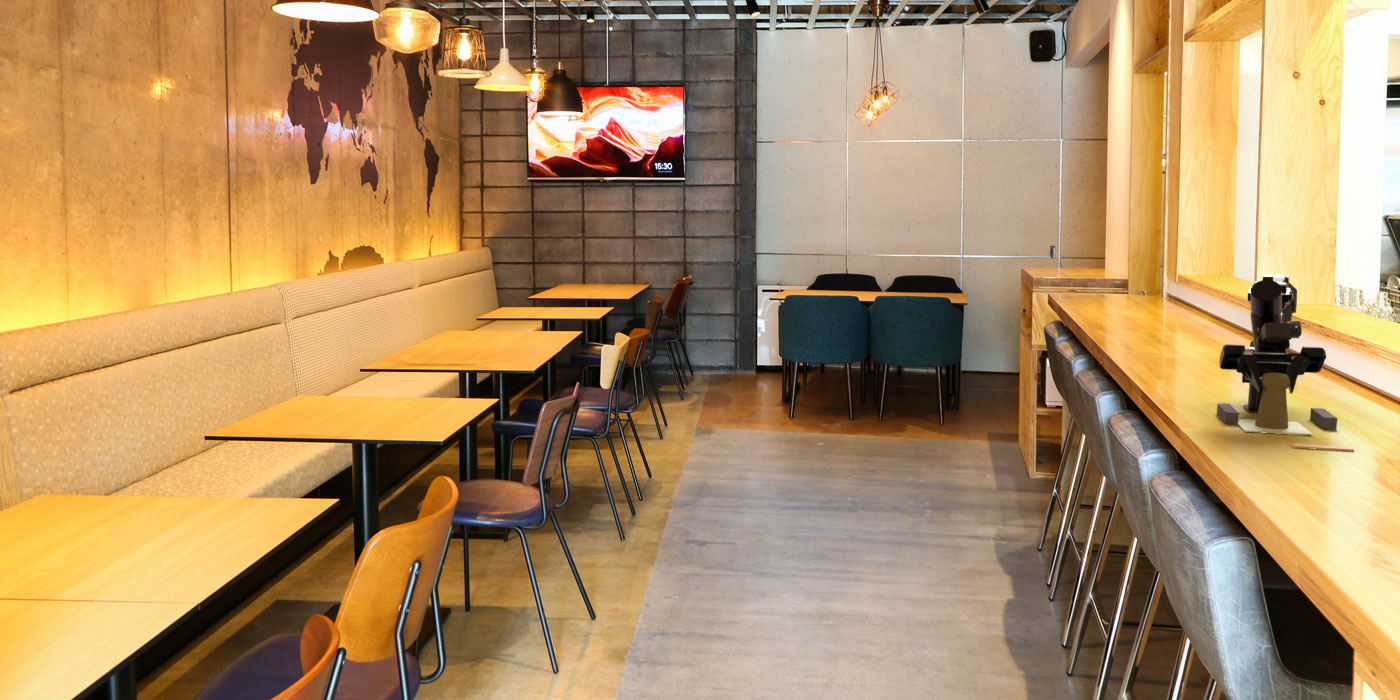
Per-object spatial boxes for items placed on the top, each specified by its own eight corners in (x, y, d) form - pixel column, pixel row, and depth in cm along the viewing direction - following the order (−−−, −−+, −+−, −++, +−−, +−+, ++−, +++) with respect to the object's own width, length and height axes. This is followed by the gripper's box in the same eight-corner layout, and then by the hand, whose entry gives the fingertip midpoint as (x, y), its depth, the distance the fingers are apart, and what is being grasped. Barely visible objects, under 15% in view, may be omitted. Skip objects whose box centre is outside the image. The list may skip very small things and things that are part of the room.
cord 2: (1310, 419, 218) (1310, 407, 218) (1322, 419, 217) (1323, 408, 217) (1322, 428, 209) (1323, 417, 208) (1336, 429, 208) (1337, 418, 208)
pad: (1233, 420, 217) (1233, 418, 217) (1297, 423, 214) (1297, 421, 214) (1244, 432, 206) (1245, 430, 206) (1312, 436, 202) (1312, 434, 202)
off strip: (1290, 445, 195) (1290, 443, 195) (1350, 449, 192) (1350, 447, 192) (1293, 448, 193) (1293, 445, 193) (1353, 451, 190) (1354, 449, 190)
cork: (1280, 422, 212) (1284, 370, 211) (1294, 429, 207) (1298, 375, 205) (1249, 422, 213) (1253, 370, 211) (1262, 428, 207) (1266, 375, 205)
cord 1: (1216, 414, 224) (1217, 403, 223) (1229, 414, 223) (1229, 404, 222) (1225, 423, 214) (1226, 412, 214) (1238, 424, 213) (1238, 413, 213)
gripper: (1225, 305, 213) (1232, 366, 204) (1327, 308, 207) (1338, 370, 198) (1216, 338, 221) (1222, 397, 213) (1314, 341, 216) (1324, 402, 207)
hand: (1275, 391), depth 207 cm, fingers open, 5 cm apart
